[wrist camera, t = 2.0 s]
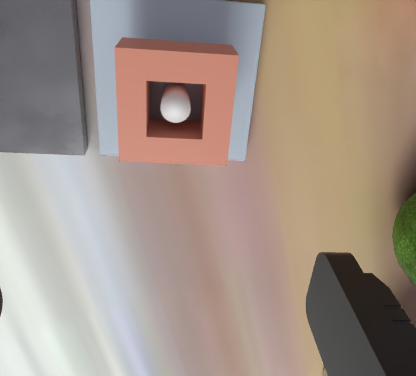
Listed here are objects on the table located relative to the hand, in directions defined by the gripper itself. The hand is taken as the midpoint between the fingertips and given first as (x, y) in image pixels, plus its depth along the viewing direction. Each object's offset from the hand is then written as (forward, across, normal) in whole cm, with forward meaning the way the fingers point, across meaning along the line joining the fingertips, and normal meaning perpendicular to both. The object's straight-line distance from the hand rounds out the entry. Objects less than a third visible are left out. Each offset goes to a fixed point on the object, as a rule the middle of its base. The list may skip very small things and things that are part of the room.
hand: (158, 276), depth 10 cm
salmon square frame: (+15, 0, 0) cm, 15 cm away
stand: (+18, 0, 0) cm, 18 cm away
